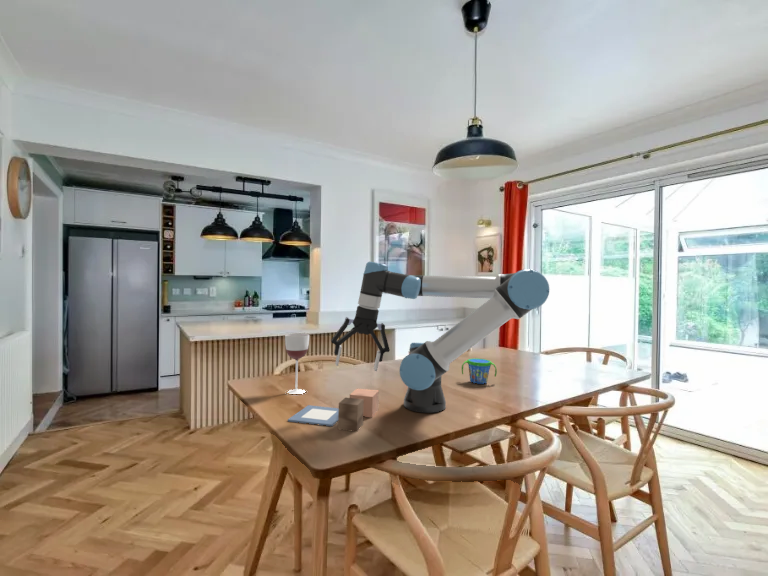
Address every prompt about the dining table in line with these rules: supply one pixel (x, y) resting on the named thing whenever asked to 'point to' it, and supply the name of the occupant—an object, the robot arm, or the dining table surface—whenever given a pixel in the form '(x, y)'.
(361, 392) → the terracotta base
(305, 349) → the wineglass
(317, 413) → the board
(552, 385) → the dining table surface
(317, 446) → the dining table surface
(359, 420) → the walnut column
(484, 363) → the snack cup
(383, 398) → the dining table surface
